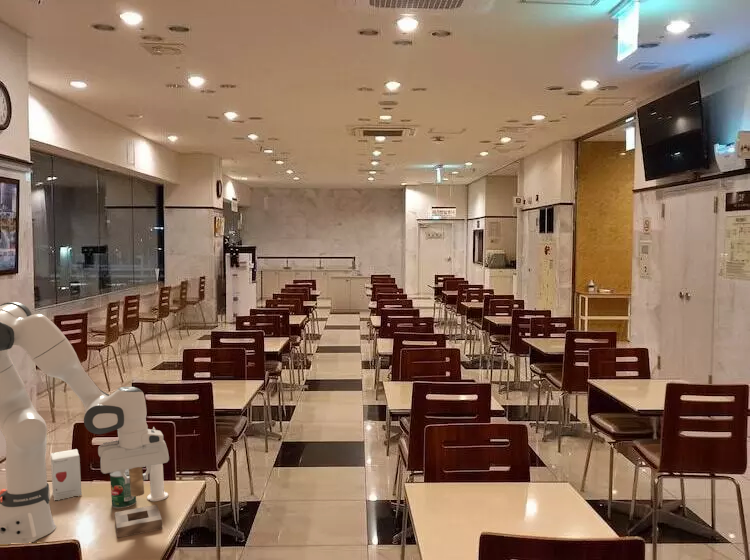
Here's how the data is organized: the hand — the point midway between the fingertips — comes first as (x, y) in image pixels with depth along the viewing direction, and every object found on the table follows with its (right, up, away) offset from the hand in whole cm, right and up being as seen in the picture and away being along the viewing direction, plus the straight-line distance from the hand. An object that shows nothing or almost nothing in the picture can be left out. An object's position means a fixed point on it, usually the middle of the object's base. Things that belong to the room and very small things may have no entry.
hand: (136, 481), depth 208 cm
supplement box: (-35, -14, +29) cm, 47 cm away
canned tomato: (-11, -14, +19) cm, 26 cm away
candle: (-1, -13, +23) cm, 27 cm away
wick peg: (0, -4, 0) cm, 4 cm away
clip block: (0, -14, +1) cm, 14 cm away
